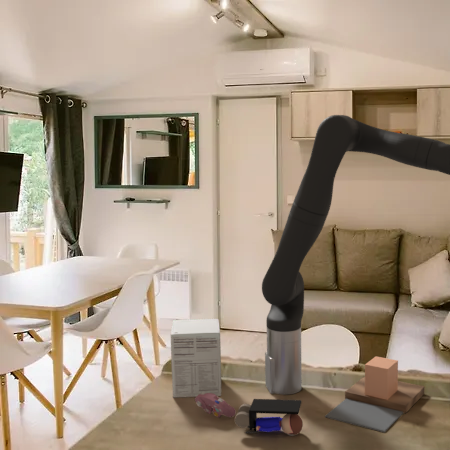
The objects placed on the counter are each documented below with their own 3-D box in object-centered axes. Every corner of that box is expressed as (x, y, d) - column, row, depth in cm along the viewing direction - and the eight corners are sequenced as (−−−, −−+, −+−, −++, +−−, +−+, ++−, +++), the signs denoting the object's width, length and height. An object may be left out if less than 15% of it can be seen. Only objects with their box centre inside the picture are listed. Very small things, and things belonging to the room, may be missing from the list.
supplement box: (222, 396, 170) (220, 332, 167) (172, 398, 169) (169, 334, 167) (220, 377, 183) (219, 318, 180) (174, 379, 182) (172, 319, 180)
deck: (366, 381, 177) (366, 374, 177) (424, 393, 168) (424, 386, 168) (345, 399, 166) (345, 391, 166) (405, 413, 157) (405, 405, 157)
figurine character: (236, 442, 147) (302, 440, 144) (232, 411, 146) (298, 408, 143) (242, 429, 154) (305, 427, 150) (237, 398, 153) (301, 396, 150)
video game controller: (198, 415, 162) (189, 396, 159) (210, 403, 165) (200, 383, 161) (227, 427, 155) (218, 407, 152) (238, 413, 158) (229, 393, 155)
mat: (346, 399, 166) (346, 398, 166) (403, 413, 157) (403, 411, 157) (325, 417, 156) (325, 415, 156) (384, 432, 147) (384, 430, 147)
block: (375, 385, 169) (375, 356, 168) (397, 390, 166) (398, 360, 165) (364, 394, 164) (365, 364, 163) (387, 399, 160) (387, 369, 159)
